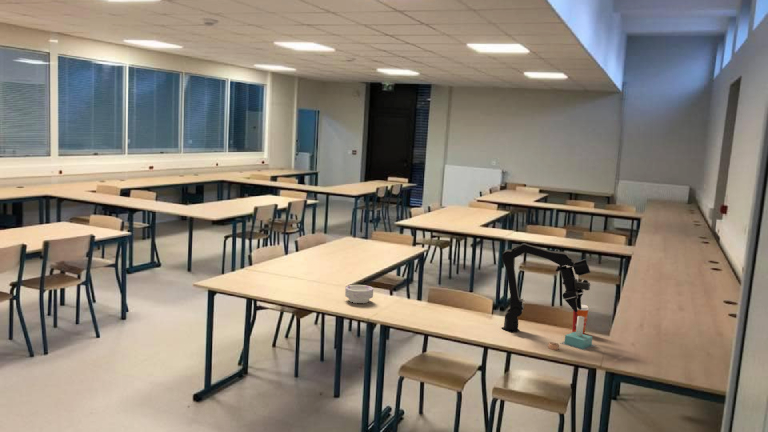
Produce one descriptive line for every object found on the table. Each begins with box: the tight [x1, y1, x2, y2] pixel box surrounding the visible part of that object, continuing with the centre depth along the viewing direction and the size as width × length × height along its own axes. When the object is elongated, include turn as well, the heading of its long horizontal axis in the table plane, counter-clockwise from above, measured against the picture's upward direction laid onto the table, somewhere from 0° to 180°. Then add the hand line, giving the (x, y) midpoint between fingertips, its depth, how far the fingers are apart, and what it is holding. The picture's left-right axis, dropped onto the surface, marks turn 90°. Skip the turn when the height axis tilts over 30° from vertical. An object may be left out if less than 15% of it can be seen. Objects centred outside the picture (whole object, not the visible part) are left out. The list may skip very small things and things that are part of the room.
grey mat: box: [559, 340, 597, 351], centre depth 285 cm, size 12×12×1 cm
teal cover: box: [563, 316, 593, 349], centre depth 284 cm, size 9×9×13 cm
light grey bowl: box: [344, 284, 374, 304], centre depth 335 cm, size 15×15×8 cm
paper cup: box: [571, 303, 590, 335], centre depth 303 cm, size 8×8×14 cm
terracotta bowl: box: [547, 341, 560, 351], centre depth 276 cm, size 4×4×3 cm
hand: (578, 310), depth 289 cm, fingers open, 9 cm apart
